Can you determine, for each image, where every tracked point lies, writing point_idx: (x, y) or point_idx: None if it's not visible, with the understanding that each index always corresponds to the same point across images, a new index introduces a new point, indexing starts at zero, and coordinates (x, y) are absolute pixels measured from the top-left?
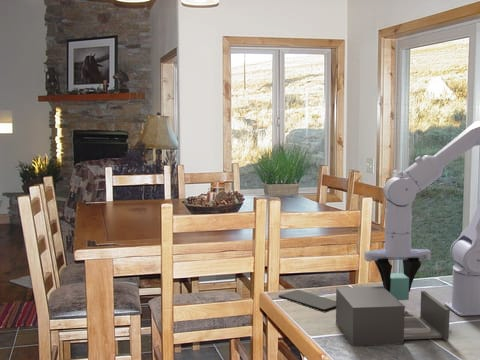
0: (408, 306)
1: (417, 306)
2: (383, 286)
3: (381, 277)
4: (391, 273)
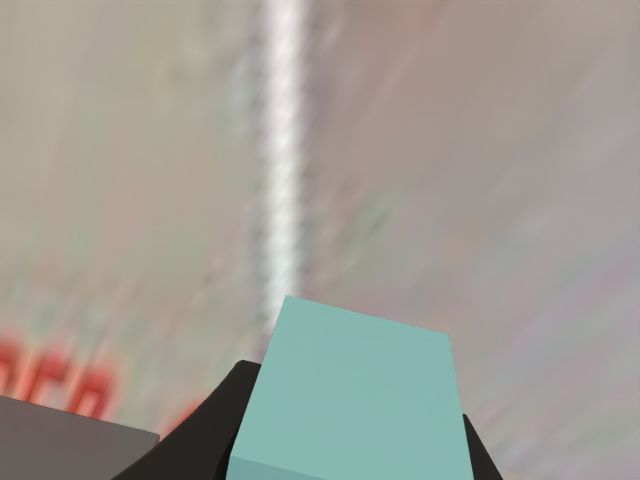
0: (487, 295)
1: (554, 318)
2: (225, 380)
3: (171, 437)
4: (317, 477)
